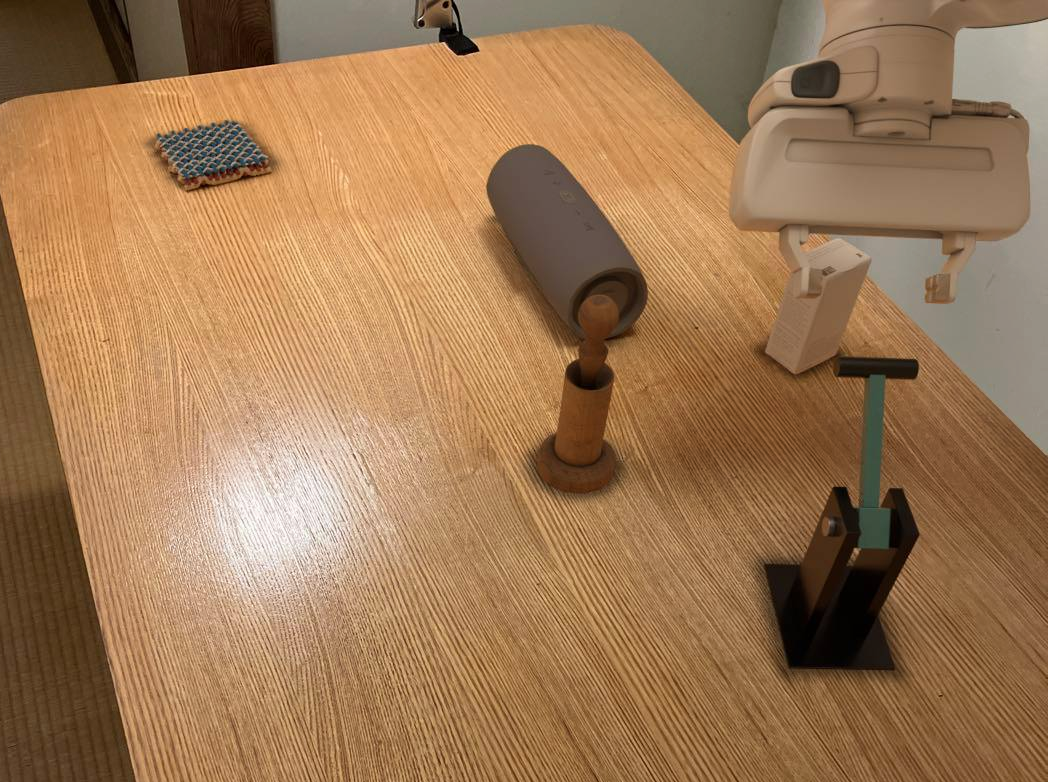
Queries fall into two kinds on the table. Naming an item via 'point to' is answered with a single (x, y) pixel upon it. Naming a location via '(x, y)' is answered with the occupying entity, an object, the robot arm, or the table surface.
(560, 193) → the bluetooth speaker
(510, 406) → the table surface
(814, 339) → the cosmetic box
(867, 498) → the lever
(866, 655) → the bracket
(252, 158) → the woven mat
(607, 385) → the mortar and pestle
